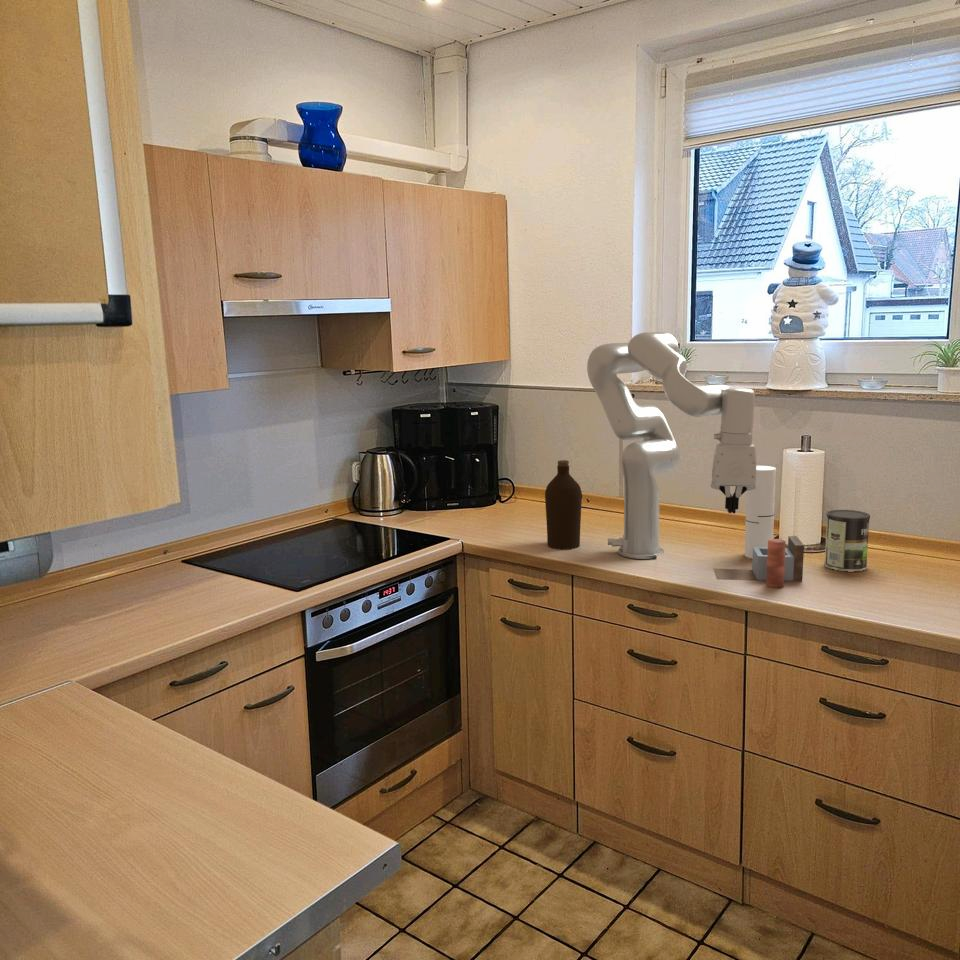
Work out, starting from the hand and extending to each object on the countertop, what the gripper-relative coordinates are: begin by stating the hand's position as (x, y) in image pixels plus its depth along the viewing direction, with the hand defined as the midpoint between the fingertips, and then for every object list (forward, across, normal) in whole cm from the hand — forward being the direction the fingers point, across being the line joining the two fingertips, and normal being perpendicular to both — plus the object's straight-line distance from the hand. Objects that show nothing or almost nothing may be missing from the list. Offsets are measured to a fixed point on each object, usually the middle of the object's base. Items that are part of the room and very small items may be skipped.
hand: (731, 511), depth 211 cm
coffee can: (+17, +31, +12) cm, 37 cm away
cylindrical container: (+17, +10, +17) cm, 26 cm away
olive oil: (+19, -43, +27) cm, 54 cm away
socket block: (+16, +11, -1) cm, 19 cm away
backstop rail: (+17, +7, -1) cm, 18 cm away
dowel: (+16, +10, -9) cm, 21 cm away
